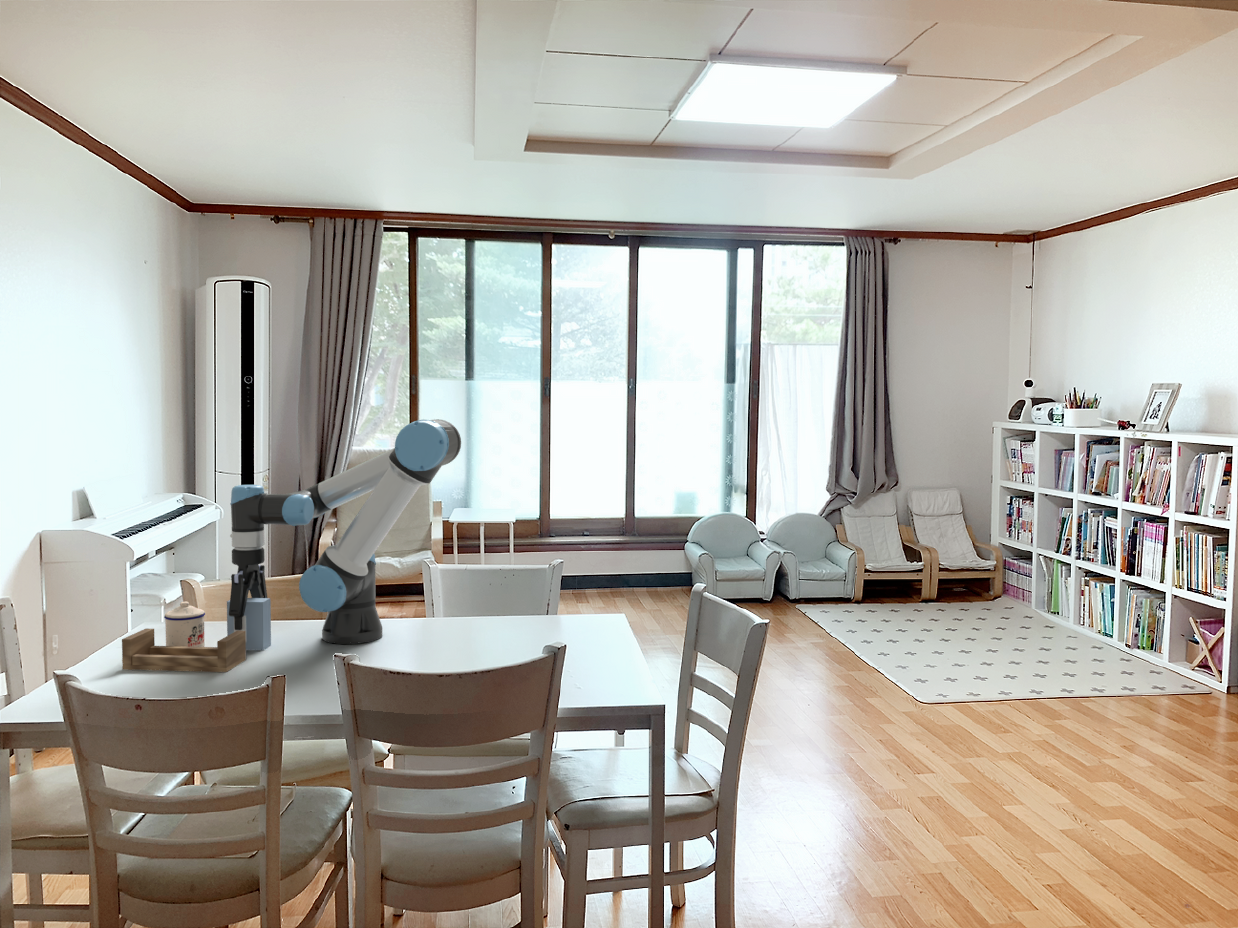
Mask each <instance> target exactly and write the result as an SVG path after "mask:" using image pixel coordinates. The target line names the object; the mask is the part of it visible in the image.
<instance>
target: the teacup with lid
mask: <svg viewBox="0 0 1238 928" xmlns="http://www.w3.org/2000/svg"><path fill="white" fill-rule="evenodd" d="M205 615H206V612H205V610H204V609H201V608H198V607H196V606H193V605H191V604H190V603H189V601H181V602H180V604H179V606H177V607H175V608H173V609H171V610H169V611H167V612H165V613H164V617H163V618H164V619H165V621H164V622H165V646H186V647H206V646H205V645H206V644H205Z"/></svg>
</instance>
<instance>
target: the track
mask: <svg viewBox="0 0 1238 928" xmlns="http://www.w3.org/2000/svg"><path fill="white" fill-rule="evenodd" d="M216 646H217V647H216ZM216 646H215V647H213V646H204V647H186V646H166V645H155V628H144V629H141V630H140V631H137V632H134V633H133V634H131V635H127V636H125V637H123V638H122V639H121V656H122V657H121V658H122V659H121V661H122V663H121V666H122V670H125V671H126V670H128V671H129V670H130V671H161V672H162V671H166V672H168V671H169V672H171V671H172V672H201V673H203V672H205V673H207V672H208V673H210V672H211V673H228V672H229V671H231V670H232V669H234V668H237V666H239V665H240V664H242V663H243V662H245V661H246V660H247V650H246V632H245V631H236V632H234V633H232V634H230V635H228V636H224V637H223V638H221V639H219V640H217V642H216Z"/></svg>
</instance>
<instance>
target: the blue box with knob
mask: <svg viewBox="0 0 1238 928" xmlns="http://www.w3.org/2000/svg"><path fill="white" fill-rule="evenodd" d="M271 601H272V600H271V597H270V598H269V597H267V598H252V597H248V598H247V603H246V608H245V613H244V616H246V651H265V650H266V649H268V648H269V647H271V646H272V625H271V624H272V623H271V622H272V619H271V617H272V614H271V612H272V611H271V608H272V607H271V603H272V602H271ZM229 606H230V599H229V600H227V601H226V618H227V619H226V625H227V627H226V628H227V629H226V632H227V633H226V634H227V636H228V635H230V634H232V633H234V616H229ZM264 649H265V650H264Z"/></svg>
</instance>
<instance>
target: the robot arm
mask: <svg viewBox="0 0 1238 928" xmlns="http://www.w3.org/2000/svg"><path fill="white" fill-rule="evenodd" d="M461 448H462V438H461V434H460V433H459V430H458V429H457V428H456V426H454V425H453V424H452V423H451V422H449V421H447V420H444V419H435V418H434V419H418V420H415V421H412V422H411V423H408V424H406V425H405V426H404V427H403V428H402V429H401V430H400V431H399V432H398V433H397V436H396V438H395V441H394V448H392V449H389V450H387V451H385V452H383V453H381V454H379V455H377V456H374V457H372V458H369V459H368V460H366V461H364V462H362V463H359V464H357V465H354V466H353V467H351V468H349V469H346V470H344V471H342V472H340V473H338V474H335V475H334V476H332V477H329V478H327V479H326V480H322V481H321V482H319V483H317V484H316V483H315V485H311V486H310V487H307V488H305V489H303V490H299V491H294V492H290V493H282V494H281V493H266V492H265V489H264V486H263V485H260V484H238V485H235V486H234V487H232V488H231V492H230V493H231V495H230V496H231V497H230V509H231V510H230V511H231V512H230V514H231V515H230V516H231V534H230V535H229V537H230V538H231V546H232V550H231V563H232V564H233V565H236V566H237V573H232V574H231V575H230V578H231V586H230V598H229V600H230V606H229V616H234V632H236V631H245V632H246V616H244V613H245V608H246V603H247V598H249V595H250V598H268V591H267V583H266V577H265V576H266V574H265V573H266V572H265V570H266V569H265V568H266V565H265V564H263V563H265V548H264V546H265V544H266V543H265V525H278V526H279V525H281V526H283V525H284V526H292V527H297V526H306V525H308V524H310V522H311V521H312V520H313V519H316V518H318V517H321V516H323V515H324V514H325V513H327V512H329V511H332V510H333V509H335V508H338V507H340V506H342V505H344V504H346V503H348V502H350V501H352V500H355V499H357V498H360V497H362V496H363V495H366V494H368V493H370V492H371V494H370V495H369V496H368V498H367V499H366V501H365V502H364V504H363V505H362V507H361V508H360V509H359V511H358V513H356V514H355V515H356V516H355V517H354V519H353V520H352V522H351V523H350V525H349V526H348V527H347V529H346V530H345V531H344V533H343V534H342V536H341V537H340V539H339V540H338V541H337V543H336V544H334V545H329V546H327V547H326V548H325V550H324V551H323V553H322V554H321V555H320V557H319V558H318V560H317V561H316V562H315V563H314V564H313V565H311V566H310V567H308V568H307V569H306V570H305V571H304V572H303V573H302V574H301V577H300V579H299V583H298V589H299V594H300V596H301V599H302V601H303V602H304V604H305V605H306V606H308V608H309V609H312V610H314V611H316V612H319V613H327V615H326V617H325V620H324V623H323V627H322V630H321V631H322V632H321V639H322V641H324V642H326V643H331V644H335V645H336V644H337V645H339V644H340V645H353V644H354V645H356V644H363V643H369V642H372V641H373V642H374V641H376V640H379V639H380V638H381V639H382V637H383V625H382V621H381V619H380V616H379V614H378V610H377V606H376V565H377V561H376V554H375V552H376V551H377V549H378V548H379V547H380V545H381V544H382V542H383V541H384V539H385V538H386V536H387V535H388V533H389V532H391V531H390V530H391V529H392V527H393V526H394V525H395V523H396V522H397V520H398V519H399V518H400V516H401V515H402V513H403V511H404V510H405V509H406V508H407V506H408V504H409V503H410V501H411V500H412V499H413V497H414V495H416V493H417V491H418V490H419V488H420V487H421V486H426V485H429V484H431V482H432V481H433V480H434V479H435V477H436V475H437V474H438V472H439V471H440V470H441V468H442V466H446V465H448V464H451V463H452V462H453V461H454V460H455V459H456V458H457V457H458V455H459V454H460V451H461ZM261 564H262V565H261ZM249 593H250V594H249Z"/></svg>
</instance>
